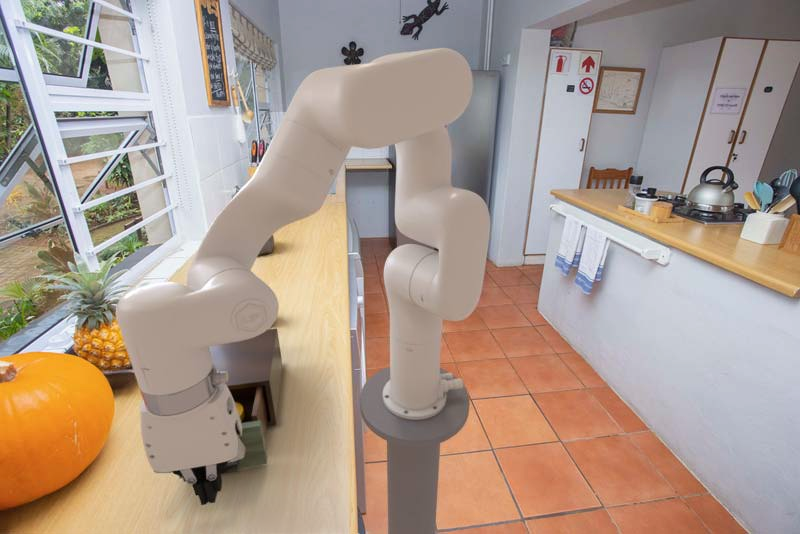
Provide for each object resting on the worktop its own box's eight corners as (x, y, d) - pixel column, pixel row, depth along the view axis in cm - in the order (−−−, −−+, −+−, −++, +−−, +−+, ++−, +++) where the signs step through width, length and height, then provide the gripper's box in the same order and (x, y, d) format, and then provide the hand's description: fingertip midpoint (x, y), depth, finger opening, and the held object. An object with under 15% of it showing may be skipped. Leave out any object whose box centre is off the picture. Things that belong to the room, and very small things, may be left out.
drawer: (263, 491, 56) (255, 452, 53) (169, 508, 54) (155, 468, 51) (275, 396, 74) (270, 362, 71) (205, 405, 72) (196, 371, 69)
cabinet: (276, 424, 69) (269, 380, 65) (193, 436, 66) (180, 391, 63) (282, 366, 84) (277, 328, 80) (215, 375, 82) (206, 335, 78)
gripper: (252, 358, 50) (270, 460, 57) (123, 374, 47) (159, 480, 54) (243, 398, 43) (265, 508, 50) (91, 420, 40) (138, 534, 47)
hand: (210, 493), depth 52 cm, fingers closed
